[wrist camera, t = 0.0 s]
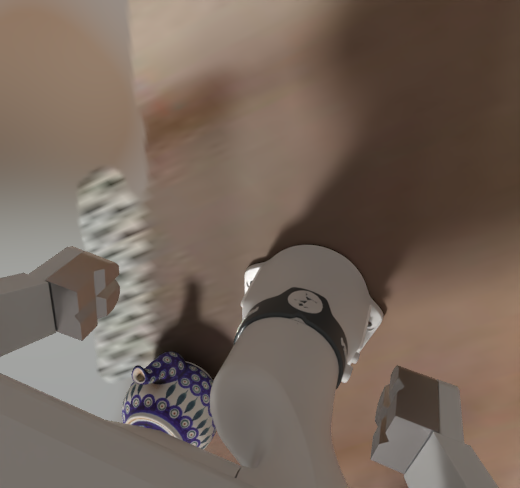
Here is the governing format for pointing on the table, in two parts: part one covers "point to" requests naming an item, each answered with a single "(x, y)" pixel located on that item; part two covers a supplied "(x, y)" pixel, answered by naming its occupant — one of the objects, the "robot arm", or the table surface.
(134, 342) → the table surface
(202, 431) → the teapot
